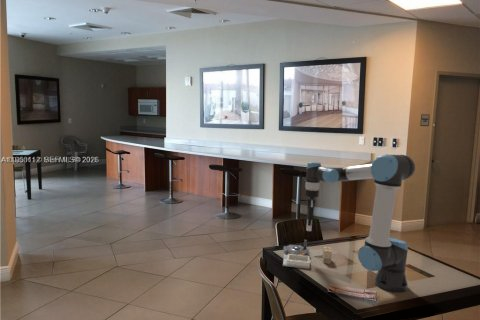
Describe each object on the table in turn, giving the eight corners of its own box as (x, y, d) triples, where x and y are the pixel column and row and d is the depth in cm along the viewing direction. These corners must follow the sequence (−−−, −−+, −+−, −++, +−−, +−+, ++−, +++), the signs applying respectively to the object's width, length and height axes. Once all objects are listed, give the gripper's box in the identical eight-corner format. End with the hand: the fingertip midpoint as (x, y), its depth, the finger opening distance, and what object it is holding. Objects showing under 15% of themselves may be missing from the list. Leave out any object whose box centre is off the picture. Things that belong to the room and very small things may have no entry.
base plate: (309, 268, 202) (309, 263, 202) (282, 265, 204) (283, 260, 204) (307, 250, 232) (308, 245, 231) (284, 247, 234) (285, 243, 233)
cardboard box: (330, 263, 212) (331, 251, 211) (323, 263, 212) (324, 250, 212) (329, 259, 219) (330, 247, 218) (322, 258, 219) (323, 246, 219)
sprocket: (314, 256, 219) (315, 244, 218) (290, 257, 214) (291, 245, 213) (301, 247, 234) (302, 235, 233) (278, 248, 228) (279, 237, 228)
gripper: (320, 191, 207) (316, 234, 210) (317, 188, 220) (314, 228, 222) (306, 190, 208) (302, 233, 210) (304, 187, 221) (301, 226, 223)
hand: (308, 230), depth 216 cm, fingers closed
